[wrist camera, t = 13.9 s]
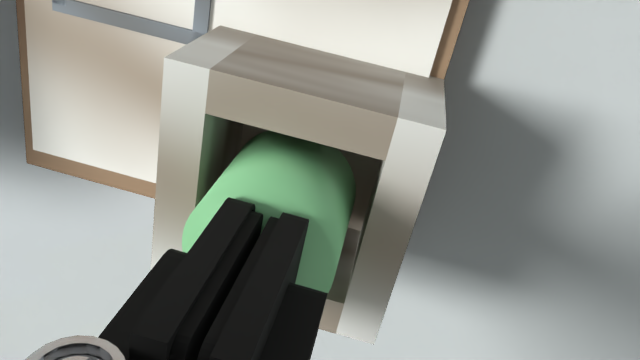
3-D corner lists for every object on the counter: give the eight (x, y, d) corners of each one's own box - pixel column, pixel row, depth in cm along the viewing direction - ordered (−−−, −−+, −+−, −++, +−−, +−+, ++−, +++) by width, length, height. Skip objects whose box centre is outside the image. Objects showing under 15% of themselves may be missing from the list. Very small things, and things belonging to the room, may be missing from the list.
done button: (240, 112, 13) (188, 169, 10) (369, 146, 13) (351, 213, 10) (225, 222, 15) (176, 297, 12) (340, 254, 15) (318, 337, 12)
